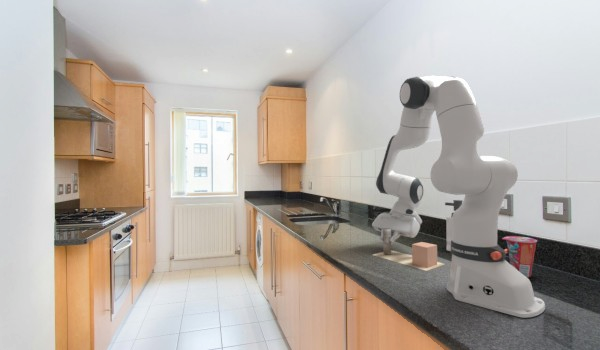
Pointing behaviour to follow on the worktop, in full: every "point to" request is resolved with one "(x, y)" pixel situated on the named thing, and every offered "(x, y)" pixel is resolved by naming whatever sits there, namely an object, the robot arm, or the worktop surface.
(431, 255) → the terracotta block
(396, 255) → the birch strip
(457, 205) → the soap dispenser
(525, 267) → the cup
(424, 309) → the worktop surface
